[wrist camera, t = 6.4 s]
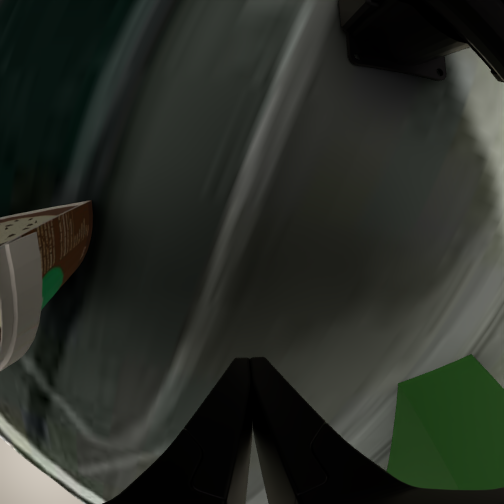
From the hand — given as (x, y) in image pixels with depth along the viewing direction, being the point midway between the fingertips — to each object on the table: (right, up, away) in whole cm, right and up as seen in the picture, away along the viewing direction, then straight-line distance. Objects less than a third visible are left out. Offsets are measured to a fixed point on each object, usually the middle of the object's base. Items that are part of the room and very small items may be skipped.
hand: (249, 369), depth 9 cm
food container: (-14, +3, +9) cm, 17 cm away
